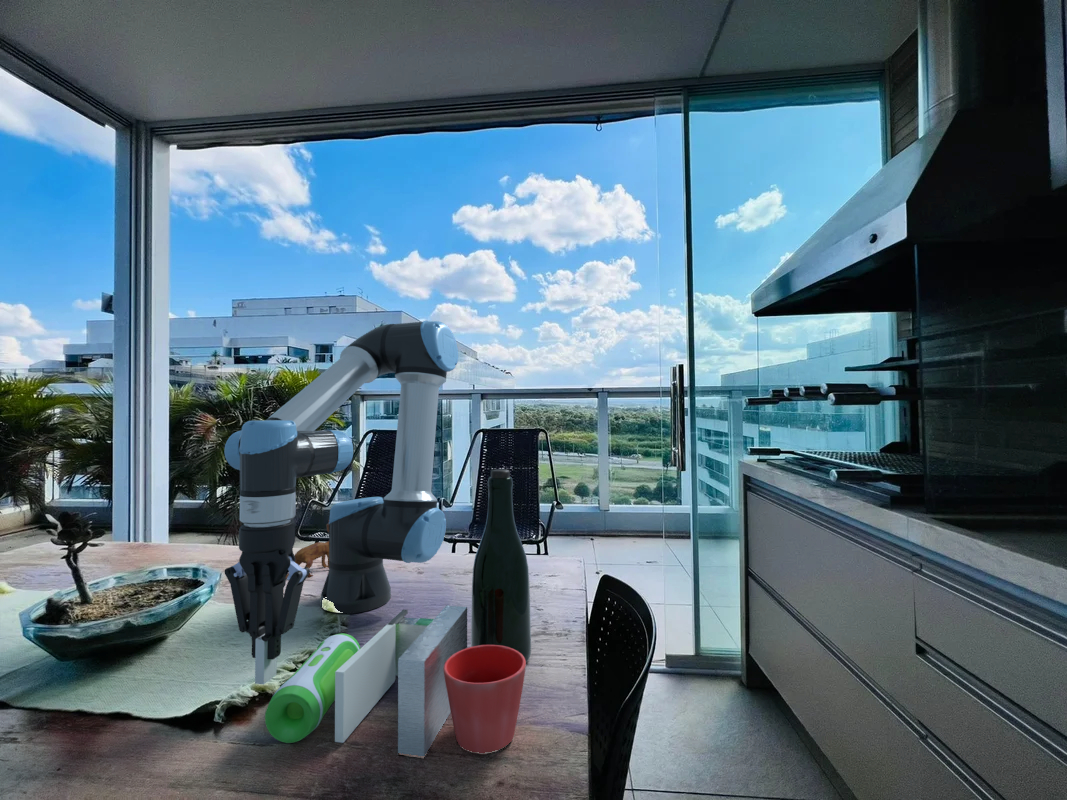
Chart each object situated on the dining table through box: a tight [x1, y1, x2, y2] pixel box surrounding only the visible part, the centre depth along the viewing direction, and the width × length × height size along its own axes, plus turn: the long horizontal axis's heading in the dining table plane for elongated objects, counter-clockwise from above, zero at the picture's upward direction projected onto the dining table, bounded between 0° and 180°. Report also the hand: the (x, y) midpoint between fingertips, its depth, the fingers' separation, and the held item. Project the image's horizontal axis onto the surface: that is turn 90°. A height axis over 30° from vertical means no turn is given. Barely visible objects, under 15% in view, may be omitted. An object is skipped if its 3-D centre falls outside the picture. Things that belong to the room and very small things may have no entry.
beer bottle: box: [470, 468, 532, 663], centre depth 87 cm, size 10×10×33 cm
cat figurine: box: [286, 519, 330, 580], centre depth 132 cm, size 18×7×14 cm, turn 143°
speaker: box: [264, 633, 362, 744], centre depth 73 cm, size 18×7×8 cm, turn 179°
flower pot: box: [444, 645, 527, 753], centre depth 66 cm, size 11×11×10 cm
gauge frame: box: [395, 605, 468, 756], centre depth 73 cm, size 14×20×12 cm
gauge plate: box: [334, 609, 409, 744], centre depth 74 cm, size 1×20×9 cm, turn 170°
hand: (265, 679), depth 74 cm, fingers closed
